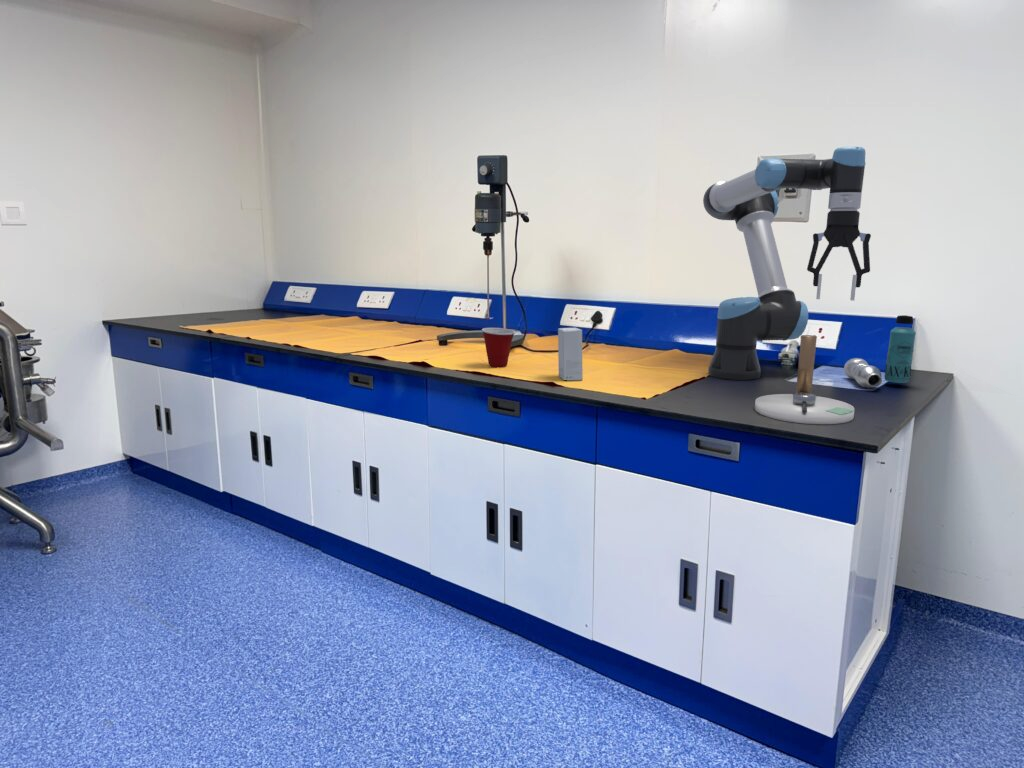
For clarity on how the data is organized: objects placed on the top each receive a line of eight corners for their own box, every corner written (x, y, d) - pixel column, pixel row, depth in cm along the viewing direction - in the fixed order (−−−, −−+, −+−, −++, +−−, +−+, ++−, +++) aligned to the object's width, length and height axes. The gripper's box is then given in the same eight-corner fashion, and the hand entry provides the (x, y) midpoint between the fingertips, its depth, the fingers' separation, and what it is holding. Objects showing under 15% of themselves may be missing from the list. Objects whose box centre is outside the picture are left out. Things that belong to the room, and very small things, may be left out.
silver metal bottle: (865, 378, 209) (887, 392, 190) (840, 377, 210) (860, 391, 191) (867, 357, 208) (889, 369, 188) (843, 356, 209) (862, 368, 190)
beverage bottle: (878, 383, 201) (886, 314, 197) (900, 383, 202) (908, 314, 198) (892, 388, 195) (900, 316, 191) (914, 388, 195) (923, 316, 191)
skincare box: (582, 380, 204) (584, 330, 201) (562, 381, 203) (563, 330, 200) (576, 375, 212) (577, 326, 209) (556, 375, 211) (557, 326, 208)
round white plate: (752, 418, 162) (753, 409, 162) (756, 398, 182) (757, 390, 182) (857, 428, 154) (858, 418, 154) (850, 406, 174) (851, 397, 174)
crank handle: (816, 414, 157) (822, 348, 154) (792, 412, 159) (798, 346, 156) (814, 394, 177) (819, 335, 173) (792, 392, 178) (797, 334, 175)
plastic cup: (507, 370, 219) (508, 332, 217) (476, 367, 223) (476, 330, 221) (520, 364, 229) (520, 328, 227) (489, 362, 233) (489, 326, 231)
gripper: (801, 210, 180) (793, 299, 185) (890, 209, 173) (879, 302, 177) (800, 211, 187) (793, 297, 191) (886, 210, 179) (876, 299, 184)
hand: (835, 299), depth 184 cm, fingers open, 8 cm apart
